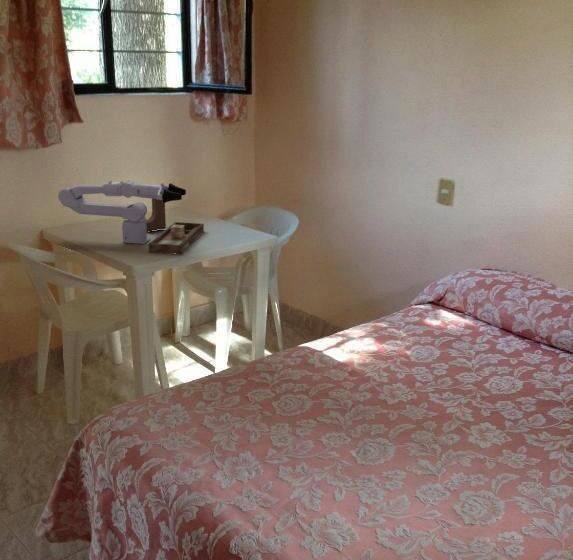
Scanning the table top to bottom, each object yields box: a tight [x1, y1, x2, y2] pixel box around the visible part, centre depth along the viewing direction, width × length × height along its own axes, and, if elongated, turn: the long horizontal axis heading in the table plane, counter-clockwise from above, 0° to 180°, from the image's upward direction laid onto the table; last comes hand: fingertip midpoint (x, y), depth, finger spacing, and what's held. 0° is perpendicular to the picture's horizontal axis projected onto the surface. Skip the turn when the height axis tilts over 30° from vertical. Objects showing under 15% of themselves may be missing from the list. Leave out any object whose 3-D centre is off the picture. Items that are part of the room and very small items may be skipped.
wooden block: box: [146, 199, 167, 233], centre depth 291 cm, size 9×4×18 cm, turn 125°
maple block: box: [171, 225, 185, 238], centre depth 277 cm, size 4×4×4 cm
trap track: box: [148, 221, 205, 255], centre depth 278 cm, size 13×37×4 cm, turn 173°
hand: (183, 194), depth 268 cm, fingers open, 7 cm apart
